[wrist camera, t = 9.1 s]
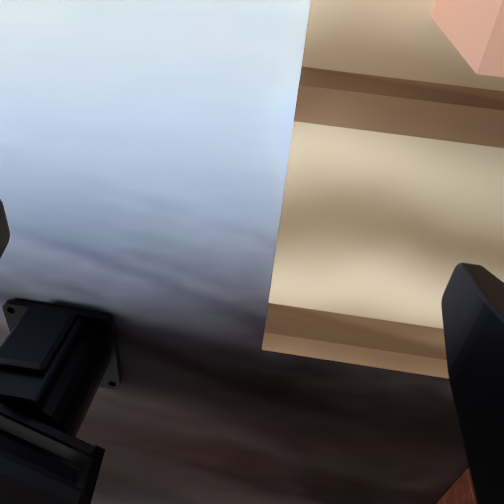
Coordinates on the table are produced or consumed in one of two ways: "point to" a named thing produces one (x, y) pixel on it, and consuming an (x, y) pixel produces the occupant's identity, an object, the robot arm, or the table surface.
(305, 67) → the ledge
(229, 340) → the table surface
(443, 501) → the decorative book
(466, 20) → the frame block
